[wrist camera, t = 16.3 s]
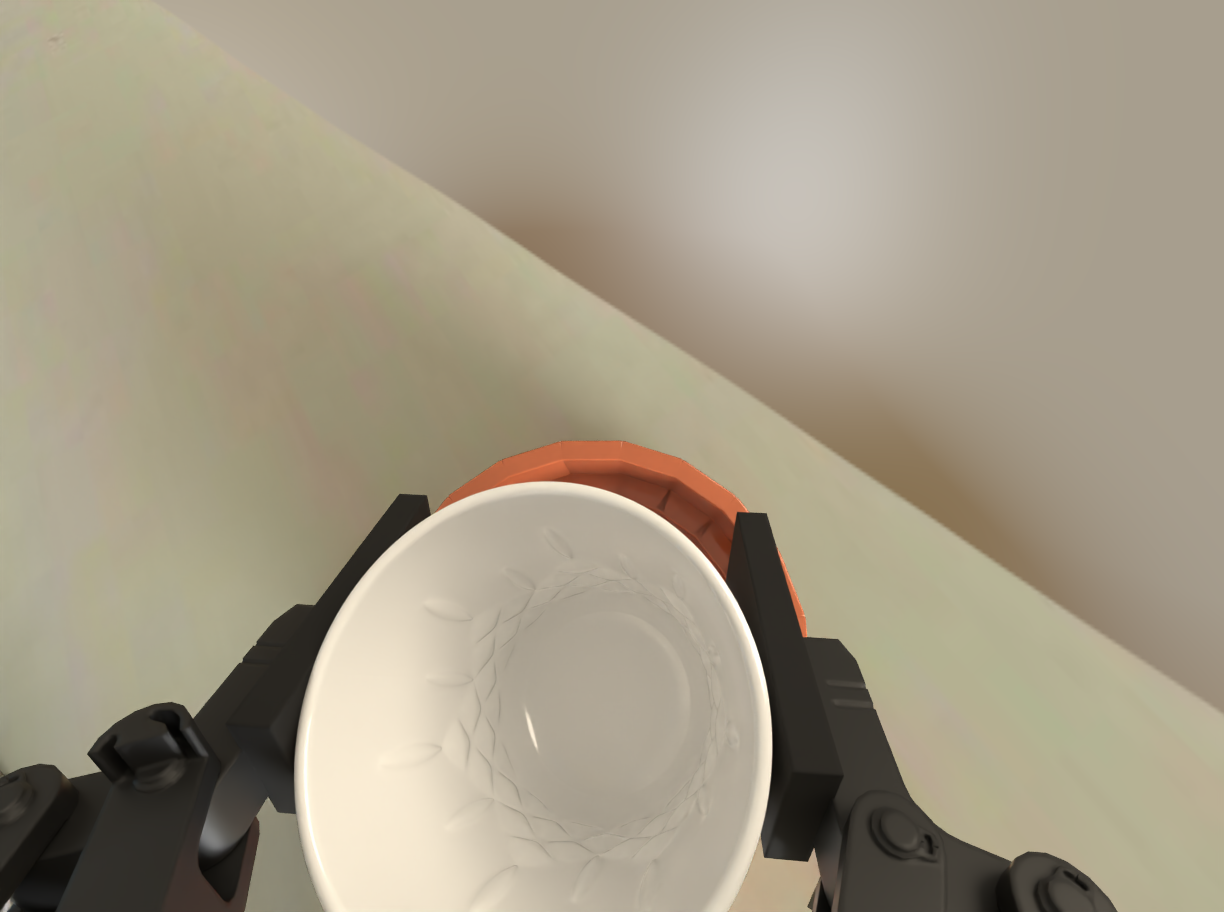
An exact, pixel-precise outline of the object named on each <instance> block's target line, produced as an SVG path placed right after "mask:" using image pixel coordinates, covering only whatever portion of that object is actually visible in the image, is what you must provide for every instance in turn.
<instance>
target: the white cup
mask: <svg viewBox="0 0 1224 912" xmlns="http://www.w3.org/2000/svg"><path fill="white" fill-rule="evenodd" d="M771 768H772V723H771V712H770V704H769V697H768V691H767V685H766V680H765V676H764V672H763V668H762V664H761V660H760V657H759V653H758V650H757V647H756V644H755V641H754V639H753V636H752V633H751V631H750V628H749V626H748V624H747V621H746V619H745V617H744V615H743V613H742V611H741V609H740V607H739V605H738V603H737V601H736V599H735V598H734V596H733V594H732V593H731V591H730V589H729V588H728V586H727V585H726V583H725V581H724V580H723V579H722V577H721V576H720V574H719V573H718V572H717V570H716V569H715V568H714V566H713V565H712V564H711V563H710V561H709V560H708V559H707V558H706V557H705V555H704V554H703V553H702V552H701V551H700V550H699V549H698V548H697V547H696V546H695V545H694V544H693V543H692V542H691V541H690V540H689V539H688V538H687V537H686V536H685V535H684V534H682V533H681V532H680V531H679V530H678V529H677V528H675V527H674V526H673V525H672V524H670V523H669V522H668V521H666V520H665V519H663V518H662V517H660V516H659V515H657V514H656V513H654V512H653V511H651V510H649V509H647V508H646V507H644V506H642V505H640V504H638V503H636V502H634V501H632V500H630V499H628V498H625V497H623V496H620V495H618V494H615V493H612V492H609V491H606V490H603V489H599V488H596V487H591V486H587V485H582V484H575V483H567V482H552V481H541V482H525V483H517V484H511V485H506V486H501V487H497V488H493V489H489V490H486V491H482V492H479V493H476V494H474V495H471V496H468V497H466V498H463V499H461V500H459V501H457V502H454V503H452V504H450V505H448V506H446V507H445V508H443V509H441V510H439V511H437V512H436V513H434V514H432V515H431V516H429V517H427V518H426V519H424V520H423V521H421V522H420V523H419V524H417V525H416V526H414V527H413V528H412V529H410V530H409V531H408V532H407V533H405V534H404V535H403V536H402V537H400V538H399V539H398V540H397V541H396V542H395V543H394V544H393V545H391V546H390V547H389V548H388V549H387V550H386V551H385V552H384V553H383V554H382V555H381V556H380V557H379V558H378V559H377V561H376V562H375V563H374V564H373V565H372V566H371V567H370V568H369V570H368V571H367V572H366V573H365V574H364V576H363V577H362V578H361V579H360V581H359V582H358V583H357V585H356V586H355V587H354V589H353V590H352V592H351V593H350V594H349V596H348V597H347V599H346V601H345V602H344V604H343V605H342V607H341V608H340V610H339V612H338V614H337V615H336V617H335V619H334V621H333V623H332V624H331V626H330V628H329V630H328V632H327V634H326V637H325V639H324V641H323V643H322V645H321V648H320V650H319V652H318V655H317V657H316V660H315V663H314V665H313V668H312V671H311V674H310V678H309V681H308V684H307V688H306V692H305V696H304V699H303V703H302V707H301V712H300V717H299V723H298V730H297V737H296V746H295V760H294V795H295V809H296V818H297V825H298V831H299V837H300V842H301V847H302V851H303V855H304V859H305V863H306V866H307V869H308V873H309V876H310V879H311V882H312V884H313V887H314V890H315V892H316V895H317V897H318V899H319V902H320V904H321V906H322V908H323V910H324V912H728V911H729V909H730V907H731V905H732V904H733V902H734V900H735V898H736V896H737V894H738V892H739V890H740V888H741V886H742V884H743V881H744V879H745V877H746V875H747V872H748V870H749V867H750V865H751V862H752V859H753V856H754V854H755V851H756V847H757V844H758V841H759V838H760V834H761V830H762V826H763V822H764V818H765V813H766V808H767V802H768V796H769V789H770V780H771Z"/></svg>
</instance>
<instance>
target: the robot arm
mask: <svg viewBox="0 0 1224 912" xmlns="http://www.w3.org/2000/svg"><path fill="white" fill-rule="evenodd" d="M429 516H431V513H430V509H429V504H428V499H427V495H410V494H399V495H398V496H397V498H396V499H395V500H394V502H393V503H392V504H391V506H390V507H389V508H388V510H387V511H386V512H385V514H384V515H383V516H382V517H381V519H380V520H379V521H378V523H377V524H376V525H375V527H374V528H373V529H372V531H371V532H370V533H369V535H368V536H367V537H366V539H365V540H364V541H363V543H362V544H361V545H360V546H359V548H358V549H357V550H356V552H355V553H354V554H353V556H352V557H351V558H350V560H349V561H348V562H347V564H346V565H345V566H344V568H343V569H342V570H341V572H340V573H339V574H338V576H337V577H336V578H335V579H334V581H333V582H332V583H331V585H330V586H329V587H328V589H327V590H326V591H325V593H324V594H323V595H322V597H321V598H320V599H319V601H318V602H317V603H316V605H302V604H296V605H295V606H294V607H292V608H291V609H289V610H288V611H287V612H285V613H284V614H283V615H281V616H280V617H279V618H277V619H276V620H274V621H273V622H272V624H271V625H270V626H269V627H268V628H267V630H266V631H265V632H264V633H263V635H262V636H261V637H260V638H259V639H258V641H257V644H256V646H253V647H252V648H251V649H250V650H249V652H248V653H247V654H246V655H245V656H244V658H243V661H242V663H239V664H238V665H237V666H236V667H235V669H234V670H233V671H232V672H231V674H230V675H229V676H228V677H227V678H226V680H225V681H224V682H223V683H222V685H221V686H220V687H219V688H218V689H217V691H216V692H215V693H214V694H213V695H212V697H211V698H210V699H209V700H208V702H207V703H206V704H205V705H204V706H203V708H202V709H201V710H200V711H199V713H198V714H197V715H196V716H195V717H194V719H193V718H192V717H191V715H190V714H189V712H188V711H187V709H186V708H185V707H184V706H183V705H180V704H176V703H173V702H168V703H160V704H154V705H151V706H148V707H146V708H143V709H140V710H137V711H135V712H133V713H132V714H130V715H128V716H127V717H125V718H123V719H122V720H120V721H118V722H117V723H115V724H114V725H113V726H112V727H111V728H110V729H108V730H107V731H106V732H105V733H104V734H103V735H102V736H100V737H99V738H98V740H97V741H96V742H95V744H94V745H93V747H92V748H91V749H90V751H89V752H88V754H87V755H88V756H89V757H90V758H91V759H92V760H93V762H94V763H95V764H96V765H97V766H98V767H99V769H100V770H101V771H102V772H97V773H93V774H88V775H84V776H80V777H75V778H71V779H67V778H66V777H65V776H64V775H63V774H62V773H61V772H60V771H59V770H58V769H57V767H56V766H55V765H47V764H37V765H33V766H29V767H25V768H21V769H19V770H16V771H14V772H12V773H10V774H8V775H6V776H4V774H3V773H2V772H1V771H0V912H244V911H245V906H246V901H247V896H248V891H249V885H250V880H251V875H252V870H253V865H254V860H255V855H256V850H257V845H258V840H259V835H260V833H259V821H258V819H257V817H256V815H257V813H258V812H259V810H260V808H261V807H262V805H263V804H264V802H265V800H266V799H267V797H269V798H270V800H271V802H272V803H273V805H274V807H275V808H276V810H277V812H280V813H291V814H296V809H295V795H294V760H295V746H296V737H297V730H298V723H299V717H300V712H301V707H302V703H303V699H304V696H305V692H306V688H307V684H308V681H309V678H310V674H311V671H312V668H313V665H314V663H315V660H316V657H317V655H318V652H319V650H320V648H321V645H322V643H323V641H324V639H325V637H326V634H327V632H328V630H329V628H330V626H331V624H332V623H333V621H334V619H335V617H336V615H337V614H338V612H339V610H340V608H341V607H342V605H343V604H344V602H345V601H346V599H347V597H348V596H349V594H350V593H351V592H352V590H353V589H354V587H355V586H356V585H357V583H358V582H359V581H360V579H361V578H362V577H363V576H364V574H365V573H366V572H367V571H368V570H369V568H370V567H371V566H372V565H373V564H374V563H375V562H376V561H377V559H378V558H379V557H380V556H381V555H382V554H383V553H384V552H385V551H386V550H387V549H388V548H389V547H390V546H391V545H393V544H394V543H395V542H396V541H397V540H398V539H399V538H400V537H402V536H403V535H404V534H405V533H407V532H408V531H409V530H410V529H412V528H413V527H414V526H416V525H417V524H419V523H420V522H421V521H423V520H424V519H426V518H427V517H429ZM725 583H726V585H727V586H728V588H729V589H730V591H731V593H732V594H733V596H734V598H735V599H736V601H737V603H738V605H739V607H740V609H741V611H742V613H743V615H744V617H745V619H746V621H747V624H748V626H749V628H750V631H751V633H752V636H753V639H754V641H755V644H756V647H757V650H758V653H759V657H760V660H761V664H762V668H763V672H764V676H765V680H766V685H767V691H768V697H769V704H770V712H771V723H772V768H771V780H770V789H769V796H768V802H767V808H766V813H765V818H764V822H763V826H762V830H761V840H762V847H763V853H764V858H773V859H784V860H794V861H805V862H808V860H809V858H810V856H811V853H812V851H813V848H815V853H816V857H817V862H818V866H819V871H820V875H821V877H820V879H819V881H818V884H817V886H816V888H815V890H814V892H813V894H812V897H811V899H810V902H809V904H808V908H810V909H811V910H812V912H1117V910H1116V909H1115V907H1114V905H1113V904H1112V902H1111V901H1110V899H1109V898H1108V897H1107V896H1106V895H1105V894H1104V893H1103V892H1102V891H1101V889H1100V888H1099V887H1098V886H1097V885H1096V884H1095V883H1094V882H1093V881H1092V880H1091V879H1090V878H1089V877H1088V876H1086V875H1085V874H1083V873H1082V872H1081V871H1079V870H1078V869H1077V868H1075V867H1074V866H1072V865H1071V864H1070V863H1068V862H1066V861H1064V860H1062V859H1059V858H1057V857H1055V856H1052V855H1050V854H1048V853H1041V852H1026V853H1024V854H1022V855H1020V856H1018V857H1017V858H1015V859H1014V860H1013V862H1011V861H1009V860H1006V859H1004V858H1002V857H999V856H997V855H994V854H992V853H990V852H987V851H985V850H982V849H980V848H978V847H975V846H973V845H970V844H968V843H965V842H963V841H961V840H959V839H957V838H955V837H953V836H951V835H950V834H948V833H946V832H945V831H943V830H942V829H941V828H939V827H938V826H937V825H935V824H934V823H933V821H932V820H931V819H930V818H929V817H928V816H927V815H926V814H925V813H924V812H923V811H922V810H921V809H920V808H919V807H918V806H917V805H916V804H915V802H914V801H913V800H912V798H911V797H910V795H909V793H908V791H907V789H906V787H905V785H904V782H903V780H902V777H901V775H900V772H899V770H898V767H897V764H896V762H895V759H894V757H893V754H892V751H891V749H890V746H889V744H888V741H887V739H886V736H885V733H884V731H883V728H882V726H881V723H880V720H879V718H878V715H877V713H876V710H875V709H873V702H872V700H871V697H870V695H869V692H868V689H866V687H865V685H866V684H865V682H864V679H863V677H862V674H861V671H860V669H859V666H858V664H857V661H856V660H855V658H854V657H853V656H852V655H851V654H850V653H849V651H848V650H847V649H846V648H845V647H844V645H843V644H842V643H841V642H840V641H839V640H838V639H826V638H811V637H803V635H802V632H801V628H800V625H799V621H798V618H797V615H796V611H795V608H794V604H793V601H792V598H791V594H790V591H789V588H788V584H787V581H786V577H785V574H784V571H783V567H782V564H781V561H780V557H779V554H778V550H777V547H776V544H775V540H774V537H773V534H772V530H771V527H770V523H769V520H768V517H767V513H749V512H737V514H736V520H735V526H734V532H733V538H732V545H731V551H730V557H729V563H728V570H727V576H726V582H725Z"/></svg>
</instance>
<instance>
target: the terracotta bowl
mask: <svg viewBox="0 0 1224 912" xmlns="http://www.w3.org/2000/svg"><path fill="white" fill-rule="evenodd" d="M541 481H552V482H567V483H575V484H582V485H587V486H591V487H596V488H599V489H603V490H606V491H609V492H612V493H615V494H618V495H620V496H623V497H625V498H628V499H630V500H632V501H634V502H636V503H638V504H640V505H642V506H644V507H646V508H647V509H649V510H651V511H653V512H654V513H656V514H657V515H659V516H660V517H662V518H663V519H665V520H666V521H668V522H669V523H670V524H672V525H673V526H674V527H675V528H677V529H678V530H679V531H680V532H681V533H682V534H684V535H685V536H686V537H687V538H688V539H689V540H690V541H691V542H692V543H693V544H694V545H695V546H696V547H697V548H698V549H699V550H700V551H701V552H702V553H703V554H704V555H705V557H706V558H707V559H708V560H709V561H710V563H711V564H712V565H713V566H714V568H715V569H716V570H717V572H718V573H719V574H720V576H721V577H722V579H723V580H724V581H725V582H726V576H727V570H728V563H729V557H730V551H731V545H732V538H733V532H734V526H735V520H736V514H737V512H749V511H748V510H747V509H746V507H745V506H744V505H743V504H742V502H741V501H740V500H739V499H738V498H737V497H736V496H735V495H734V494H733V493H731V492H730V491H728V490H727V489H725V488H724V487H722V486H721V485H719V484H718V483H717V482H715V481H714V480H712V479H711V478H709V477H708V476H706V475H705V474H703V473H702V472H701V471H699V470H698V469H696V468H695V467H693V466H692V465H690V464H689V463H687V462H686V461H684V460H683V461H682V459H680V458H677V457H674V456H671V455H668V454H664V453H661V452H658V451H655V450H651V449H648V448H645V447H642V446H638V445H635V444H632V443H629V442H625V441H623V442H622V441H561V442H556V443H553V444H550V445H547V446H543V447H540V448H537V449H534V450H531V451H527V452H524V453H521V454H518V455H515V456H511V457H508V458H505V459H503V460H502V461H501V460H500V461H498V462H497V463H495V464H494V465H492V466H491V467H489V468H488V469H487V470H485V471H484V472H482V473H481V474H479V475H478V476H476V477H475V478H473V479H472V480H470V481H469V482H467V483H466V484H465V485H463V486H462V487H460V488H459V489H457V490H456V491H454V492H453V493H451V494H450V495H449V497H447V498H446V499H445V500H444V502H443V503H442V504H441V505H440V507H439V508H438V509H437V510H436V511H435V513H436V512H437V511H439V510H441V509H443V508H445V507H446V506H448V505H450V504H452V503H454V502H457V501H459V500H461V499H463V498H466V497H468V496H471V495H474V494H476V493H479V492H482V491H486V490H489V489H493V488H497V487H501V486H506V485H511V484H517V483H525V482H541ZM777 550H778V548H777ZM778 554H779V557H780V561H781V564H782V567H783V571H784V574H785V577H786V581H787V584H788V588H789V591H790V594H791V598H792V601H793V604H794V608H795V611H796V615H797V618H798V621H799V625H800V628H801V632H802V635H803V637H807V630H806V618H805V616H804V612H803V609H802V607H801V604H800V602H799V599H798V597H797V594H796V592H795V589H794V586H793V584H792V581H791V579H790V576H789V574H788V571H787V569H786V566H785V564H784V561H783V559H782V556H781V554H780V551H779V550H778Z"/></svg>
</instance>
